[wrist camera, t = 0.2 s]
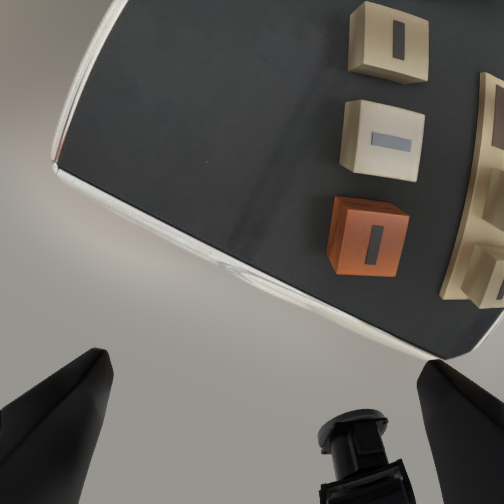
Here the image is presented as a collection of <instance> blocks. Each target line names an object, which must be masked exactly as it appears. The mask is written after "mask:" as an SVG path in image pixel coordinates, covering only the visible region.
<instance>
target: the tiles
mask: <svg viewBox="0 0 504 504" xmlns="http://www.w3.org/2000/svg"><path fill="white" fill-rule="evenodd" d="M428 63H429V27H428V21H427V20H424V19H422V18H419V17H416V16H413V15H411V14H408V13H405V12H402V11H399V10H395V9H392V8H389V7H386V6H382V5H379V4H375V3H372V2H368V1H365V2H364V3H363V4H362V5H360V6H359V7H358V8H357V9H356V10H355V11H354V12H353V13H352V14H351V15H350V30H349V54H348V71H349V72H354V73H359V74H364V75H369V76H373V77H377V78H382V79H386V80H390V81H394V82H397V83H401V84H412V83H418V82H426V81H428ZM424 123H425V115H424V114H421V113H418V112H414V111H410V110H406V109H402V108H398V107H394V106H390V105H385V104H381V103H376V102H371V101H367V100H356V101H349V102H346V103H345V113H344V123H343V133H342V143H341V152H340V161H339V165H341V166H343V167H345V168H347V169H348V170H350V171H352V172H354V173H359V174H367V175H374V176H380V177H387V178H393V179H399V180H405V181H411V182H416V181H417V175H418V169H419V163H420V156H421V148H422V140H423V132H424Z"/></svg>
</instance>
